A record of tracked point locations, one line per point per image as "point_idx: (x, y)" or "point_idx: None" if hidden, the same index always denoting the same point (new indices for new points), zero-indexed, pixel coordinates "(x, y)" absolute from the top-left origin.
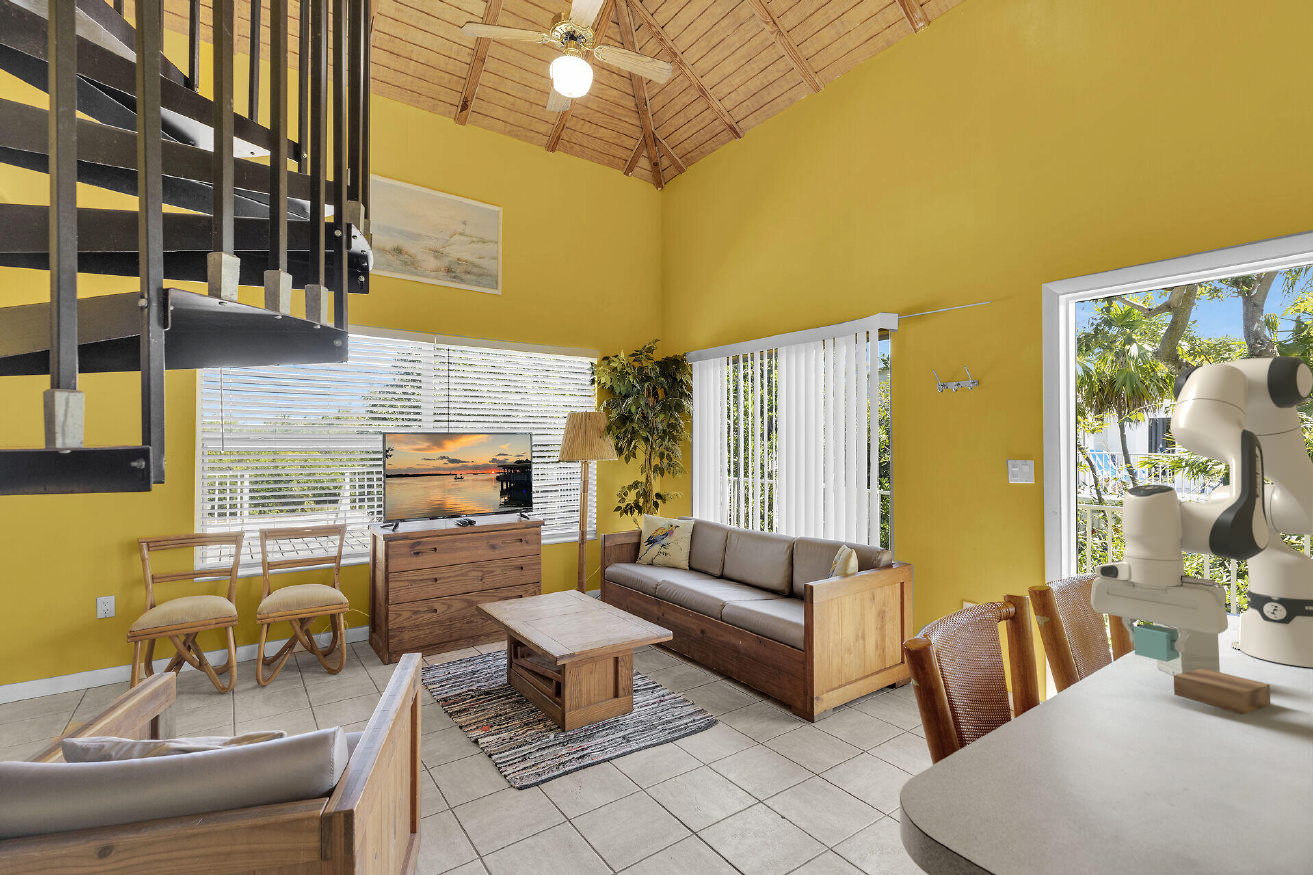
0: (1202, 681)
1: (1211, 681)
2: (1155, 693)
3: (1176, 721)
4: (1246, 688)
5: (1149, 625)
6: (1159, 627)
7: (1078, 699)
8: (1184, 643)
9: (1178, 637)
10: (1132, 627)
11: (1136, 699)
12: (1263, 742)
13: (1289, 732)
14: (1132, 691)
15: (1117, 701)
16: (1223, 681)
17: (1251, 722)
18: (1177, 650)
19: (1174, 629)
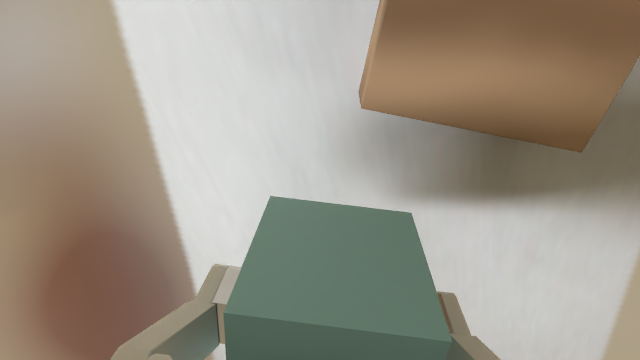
0: (459, 103)
1: (489, 70)
2: (317, 130)
3: None
4: (614, 61)
5: (263, 346)
6: (331, 356)
7: None
8: (466, 325)
9: (435, 295)
10: (190, 351)
11: None
12: (559, 292)
13: (634, 185)
14: (270, 167)
15: None
16: (535, 24)
17: (553, 180)
18: None
19: (427, 351)
